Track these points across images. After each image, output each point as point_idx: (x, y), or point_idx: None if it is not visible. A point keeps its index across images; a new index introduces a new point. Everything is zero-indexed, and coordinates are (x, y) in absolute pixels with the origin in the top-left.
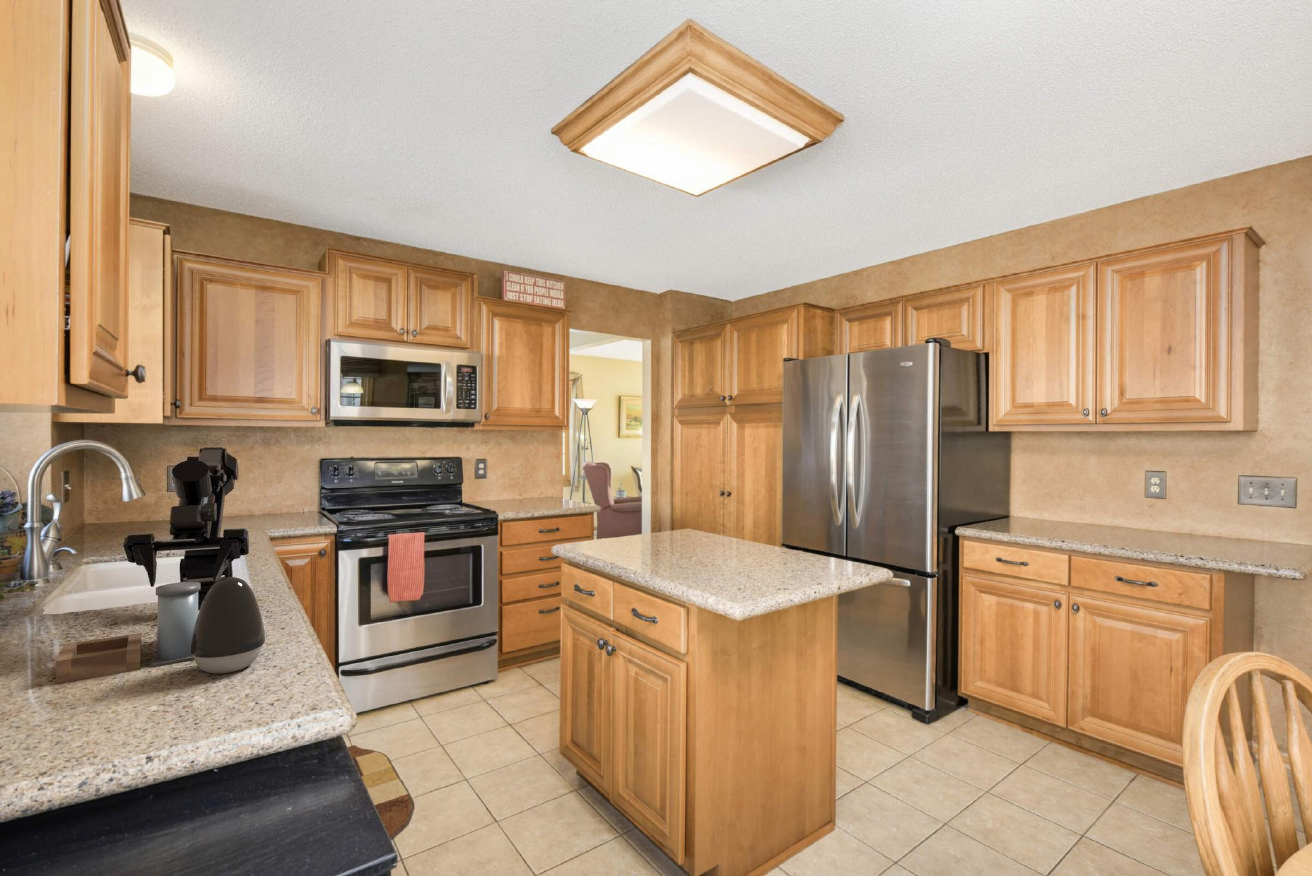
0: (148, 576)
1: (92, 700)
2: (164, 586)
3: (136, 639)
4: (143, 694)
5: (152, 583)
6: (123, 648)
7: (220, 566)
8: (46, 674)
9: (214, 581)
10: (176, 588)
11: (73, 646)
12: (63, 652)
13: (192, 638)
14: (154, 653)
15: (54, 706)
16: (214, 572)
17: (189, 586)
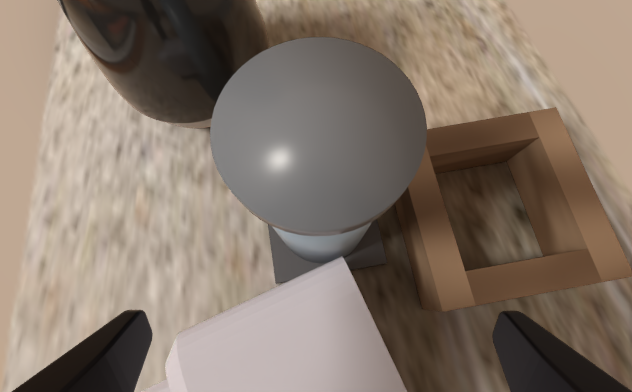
0: (580, 356)
1: (412, 23)
2: (389, 135)
3: (431, 229)
4: (338, 18)
5: (505, 313)
6: (435, 149)
7: (18, 388)
8: None
9: (147, 331)
10: (315, 63)
11: (587, 232)
12: (582, 180)
13: (257, 6)
14: (380, 257)
15: (462, 21)
16: (105, 340)
17: (259, 85)
